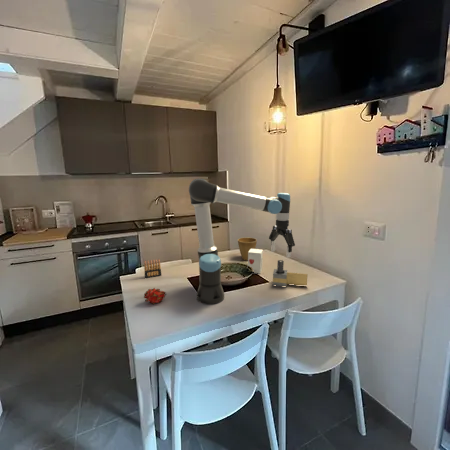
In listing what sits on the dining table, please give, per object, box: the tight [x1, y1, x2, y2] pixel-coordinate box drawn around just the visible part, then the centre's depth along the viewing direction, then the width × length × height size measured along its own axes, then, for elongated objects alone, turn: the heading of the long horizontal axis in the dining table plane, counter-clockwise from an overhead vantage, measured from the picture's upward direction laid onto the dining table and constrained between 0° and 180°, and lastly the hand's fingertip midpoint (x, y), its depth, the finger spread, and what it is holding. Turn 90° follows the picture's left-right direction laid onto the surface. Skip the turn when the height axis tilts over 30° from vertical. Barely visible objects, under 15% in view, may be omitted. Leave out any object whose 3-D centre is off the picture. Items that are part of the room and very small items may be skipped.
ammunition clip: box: [143, 258, 162, 279], centre depth 176 cm, size 11×2×12 cm, turn 115°
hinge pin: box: [276, 259, 285, 274], centre depth 164 cm, size 4×4×15 cm
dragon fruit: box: [143, 287, 167, 305], centre depth 142 cm, size 8×8×12 cm
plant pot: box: [237, 237, 258, 262], centre depth 210 cm, size 15×15×16 cm
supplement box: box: [247, 248, 264, 275], centre depth 185 cm, size 9×9×15 cm
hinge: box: [272, 268, 308, 287], centre depth 169 cm, size 20×20×8 cm
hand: (280, 254), depth 161 cm, fingers open, 13 cm apart
